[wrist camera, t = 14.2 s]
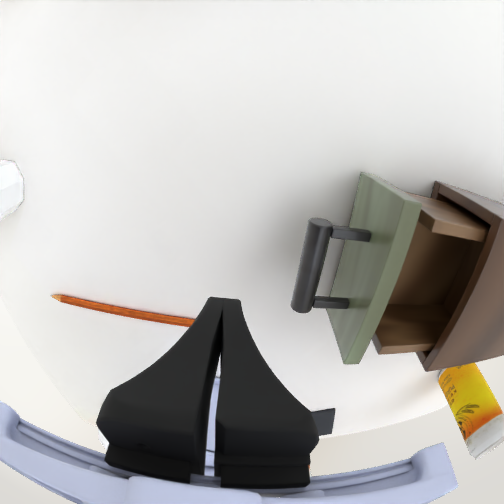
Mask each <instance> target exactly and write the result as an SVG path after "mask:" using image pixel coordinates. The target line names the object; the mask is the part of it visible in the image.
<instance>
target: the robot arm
mask: <svg viewBox="0 0 504 504" xmlns="http://www.w3.org/2000/svg"><path fill="white" fill-rule="evenodd" d="M220 352H221V375H220V378H215V376H216V371H217V366H218V362H219V357H220ZM96 424H97V426H98V428H99V430H100V431H101V433H102V434H103V435H104V437H105V438H106V439H107V441H108V442H109V445H108V448H107V452H106V454H103V453H100V452H97V451H94V450H91V449H88V448H86V447H83V446H80V445H78V444H75V443H73V442H70V441H68V440H65V439H63V438H60V437H58V436H56V435H54V434H51V433H49V432H47V431H45V430H43V429H41V428H39V427H36V426H35V425H33V424H31V423H29V422H27V421H25V420H23V419H21V418H20V417H19V415H18V414H17V413H16V412H15V411H14V410H13V409H12V408H11V407H10V406H8V405H7V404H5V403H3V402H1V401H0V460H1V461H2V462H4V463H5V464H7V465H8V466H9V467H11V468H12V469H14V470H16V471H17V472H19V473H20V474H22V475H23V476H25V477H27V478H28V479H30V480H32V481H34V482H35V483H37V484H39V485H41V486H43V487H44V488H46V489H48V490H50V491H52V492H54V493H56V494H58V495H60V496H62V497H64V498H66V499H68V500H70V501H73V502H75V503H77V504H427V503H430V502H431V501H434V500H436V499H437V498H440V497H442V496H443V495H445V494H447V493H449V492H450V491H452V490H454V489H456V488H457V487H458V483H457V480H456V477H455V474H454V471H453V468H452V465H451V462H450V459H449V456H448V453H447V450H446V448H445V445H444V443H439V444H436V445H433V446H430V447H427V448H424V449H422V450H420V451H418V452H417V453H415V454H414V455H413V456H412V457H411V458H409V459H406V460H402V461H398V462H394V463H390V464H386V465H382V466H378V467H373V468H368V469H363V470H358V471H352V472H346V473H339V474H331V475H323V476H313V477H310V475H309V466H308V465H310V453H311V452H312V450H313V449H314V448H315V446H316V445H317V444H318V441H319V434H318V430H317V426H316V423H315V421H314V418H313V416H312V413H311V411H309V410H308V409H307V408H306V407H305V406H304V405H302V404H301V403H300V402H299V401H298V400H297V399H296V398H295V397H294V396H293V395H292V394H291V393H290V392H289V391H288V390H287V389H286V388H285V386H284V385H283V384H282V383H281V382H280V381H279V379H278V378H277V377H276V376H275V374H274V373H273V372H272V370H271V369H270V368H269V366H268V365H267V363H266V362H265V360H264V359H263V357H262V355H261V354H260V352H259V350H258V348H257V346H256V344H255V342H254V340H253V338H252V336H251V334H250V331H249V329H248V327H247V324H246V321H245V318H244V315H243V311H242V307H241V301H240V300H239V299H228V298H217V297H210V298H208V300H207V302H206V304H205V306H204V307H203V309H202V310H201V312H200V314H199V315H198V317H197V318H196V319H195V321H194V322H193V323H192V325H191V326H190V327H189V329H188V330H187V331H186V332H185V333H184V335H183V336H182V337H181V338H180V339H179V340H178V341H177V343H176V344H175V345H174V346H173V347H172V348H171V349H170V350H169V351H168V352H166V353H165V354H164V355H163V356H162V357H161V358H160V359H158V360H157V361H156V362H155V363H154V364H152V365H151V366H150V367H148V368H147V369H145V370H144V371H142V372H141V373H140V374H138V375H137V376H135V377H134V378H132V379H130V380H129V381H127V382H125V383H123V384H121V385H119V386H117V387H116V388H114V389H112V390H110V392H109V394H108V395H107V397H106V399H105V401H104V402H103V404H102V407H101V410H100V412H99V415H98V418H97V422H96ZM276 497H280V498H276Z"/></svg>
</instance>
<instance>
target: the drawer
mask: <svg viewBox="0 0 504 504" xmlns="http://www.w3.org/2000/svg"><path fill="white" fill-rule="evenodd" d="M490 227H491V225H490V224H488V223H487V222H485V221H484V220H482V219H481V218H479V217H478V216H476V215H475V214H473V213H472V212H470V211H468V210H467V209H465V208H464V207H461V206H458V205H454V204H451V203H447V202H443V201H439V200H436V199H432V198H428V197H424V196H420V195H416V194H411V193H407V192H403V191H402V190H400V189H398V188H397V187H395V186H393V185H392V184H390V183H388V182H387V181H385V180H383V179H382V178H380V177H378V176H376V175H374V174H369V173H364V172H361V175H360V180H359V184H358V189H357V194H356V198H355V203H354V207H353V212H352V216H351V220H350V224H349V227H343V226H335V225H332V223H331V222H329V221H328V220H325V219H322V218H310V219H309V221H308V226H307V231H306V236H305V241H304V246H303V251H302V256H301V260H300V265H299V270H298V274H297V279H296V284H295V288H294V293H293V297H292V301H291V307H292V309H293V310H294V311H296V312H298V313H308V312H309V311H310V310H311V309H312V306H313V308H326V310H327V313H328V316H329V319H330V322H331V325H332V328H333V331H334V334H335V337H336V341H337V344H338V347H339V350H340V354H341V357H342V360H343V364H359V362H360V361H361V359H362V357H363V355H364V353H365V351H366V349H367V347H368V345H369V343H370V341H371V339H372V341H373V343H374V346H375V348H376V350H377V353H378V354H395V353H408V352H419V351H429V350H432V349H433V348H434V346H435V344H436V343H437V341H438V339H439V338H440V336H441V334H442V333H443V331H444V329H445V328H446V326H447V324H448V322H449V320H450V319H451V317H452V315H453V313H454V311H455V309H456V307H457V305H458V303H459V302H460V300H461V298H462V295H463V293H464V291H465V289H466V287H467V285H468V283H469V281H470V278H471V276H472V274H473V272H474V269H475V267H476V265H477V262H478V260H479V257H480V255H481V252H482V250H483V247H484V244H485V242H486V239H487V236H488V233H489V230H490ZM330 236H331V238H337V239H346V240H345V244H344V248H343V252H342V255H341V259H340V263H339V266H338V270H337V273H336V277H335V280H334V283H333V287H332V290H331V293H330V297H324V296H315V295H316V291H317V287H318V284H319V280H320V276H321V272H322V268H323V264H324V260H325V256H326V252H327V248H328V244H329V240H330Z"/></svg>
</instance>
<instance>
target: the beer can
mask: <svg viewBox="0 0 504 504" xmlns="http://www.w3.org/2000/svg"><path fill="white" fill-rule="evenodd" d="M438 383H439V385H440V387H441V389H442V391H443V393H444V395H445V397H446V399H447V401H448V404H449V405H450V408H451V410H452V412H453V414H454V417H455V419H456V421H457V423H458V426H459V428H460V431H461V433H462V435H463V438H464V440H465V443H466V445H467V448H468V451H469V453H470V455H471V456H473V457H474V458H475V459H478V458H480V457H482V456H484V455H485V454H487V453H488V452H490V451H491V450H493V449H494V448H496V447H497V446H498V445H500V444H501V443H502V442H503V441H504V414H503V412H502V410H501V408H500V406H499V404H498V402H497V400H496V399H495V397H494V395H493V393H492V391H491V389H490V387H489V386H488V384H487V382H486V381H485V379H484V377H483V375H482V374H481V372H480V370H479V369H478V367H477V365H476V364H475V363H470V364H466V365H461V366H456V367H451V368H446V369H442V370H441V372H440V374H439V380H438Z"/></svg>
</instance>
